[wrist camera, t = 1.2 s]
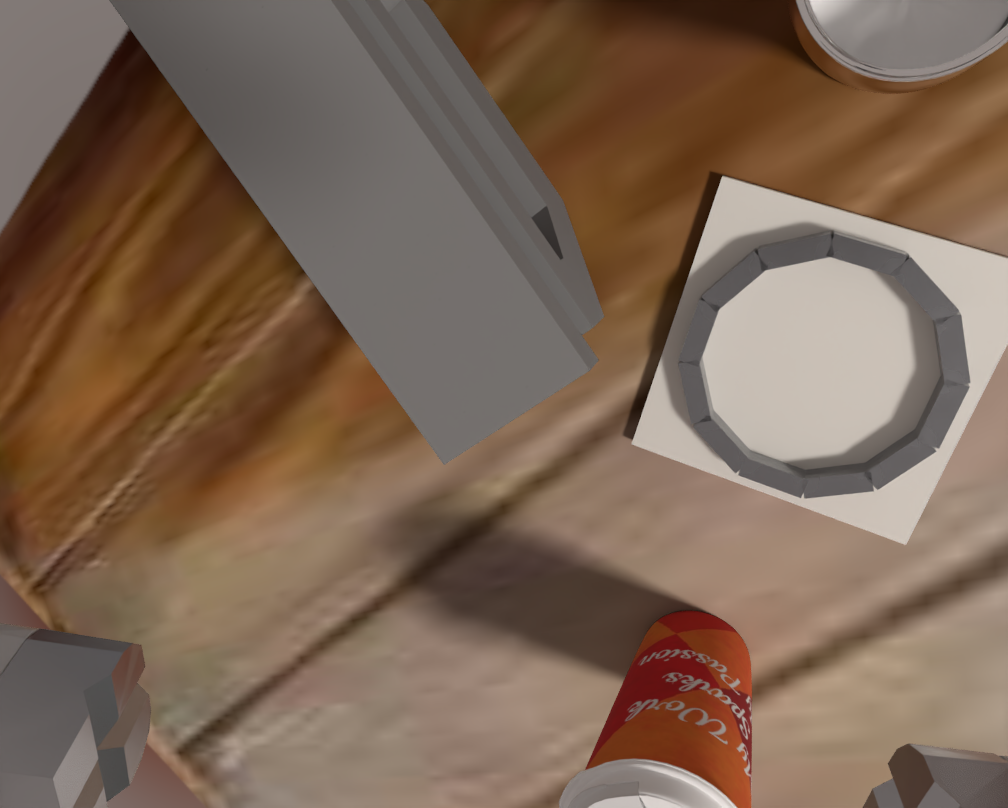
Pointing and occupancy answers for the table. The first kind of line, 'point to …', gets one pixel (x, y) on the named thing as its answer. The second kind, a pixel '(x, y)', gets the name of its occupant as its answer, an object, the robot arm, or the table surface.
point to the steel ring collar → (845, 476)
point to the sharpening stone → (391, 195)
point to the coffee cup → (676, 724)
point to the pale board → (825, 353)
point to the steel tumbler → (898, 39)
